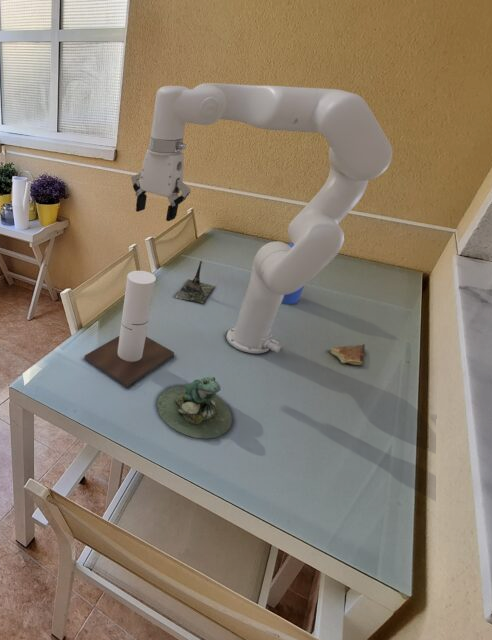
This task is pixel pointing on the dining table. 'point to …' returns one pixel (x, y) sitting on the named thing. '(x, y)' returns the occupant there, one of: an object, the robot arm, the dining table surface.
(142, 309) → the cylindrical container
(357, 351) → the shard
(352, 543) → the dining table surface
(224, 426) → the frog figurine
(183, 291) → the eiffel tower figurine
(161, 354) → the board
